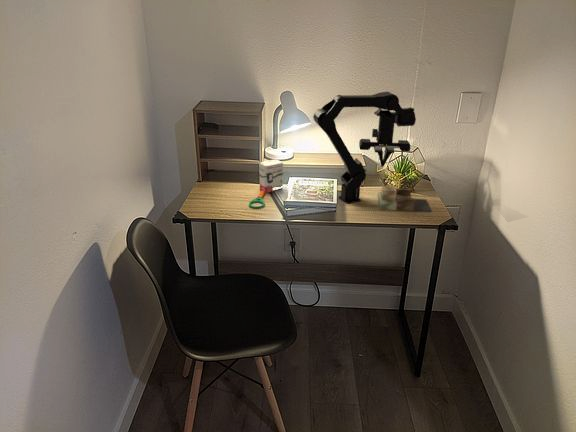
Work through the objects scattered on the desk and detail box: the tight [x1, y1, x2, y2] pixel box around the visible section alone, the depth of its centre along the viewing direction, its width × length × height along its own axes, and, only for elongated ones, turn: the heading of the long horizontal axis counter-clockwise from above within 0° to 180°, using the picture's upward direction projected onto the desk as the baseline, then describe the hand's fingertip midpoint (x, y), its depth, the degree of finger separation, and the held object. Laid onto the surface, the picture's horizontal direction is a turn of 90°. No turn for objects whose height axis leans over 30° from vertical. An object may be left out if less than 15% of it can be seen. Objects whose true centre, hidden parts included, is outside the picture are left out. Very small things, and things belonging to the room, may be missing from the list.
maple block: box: [380, 185, 397, 201], centre depth 188 cm, size 5×5×4 cm
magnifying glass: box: [248, 190, 266, 210], centre depth 191 cm, size 15×6×2 cm, turn 172°
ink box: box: [258, 158, 284, 194], centre depth 200 cm, size 8×5×12 cm, turn 123°
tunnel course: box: [376, 187, 432, 213], centre depth 189 cm, size 19×11×4 cm, turn 86°
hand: (382, 166), depth 191 cm, fingers closed
